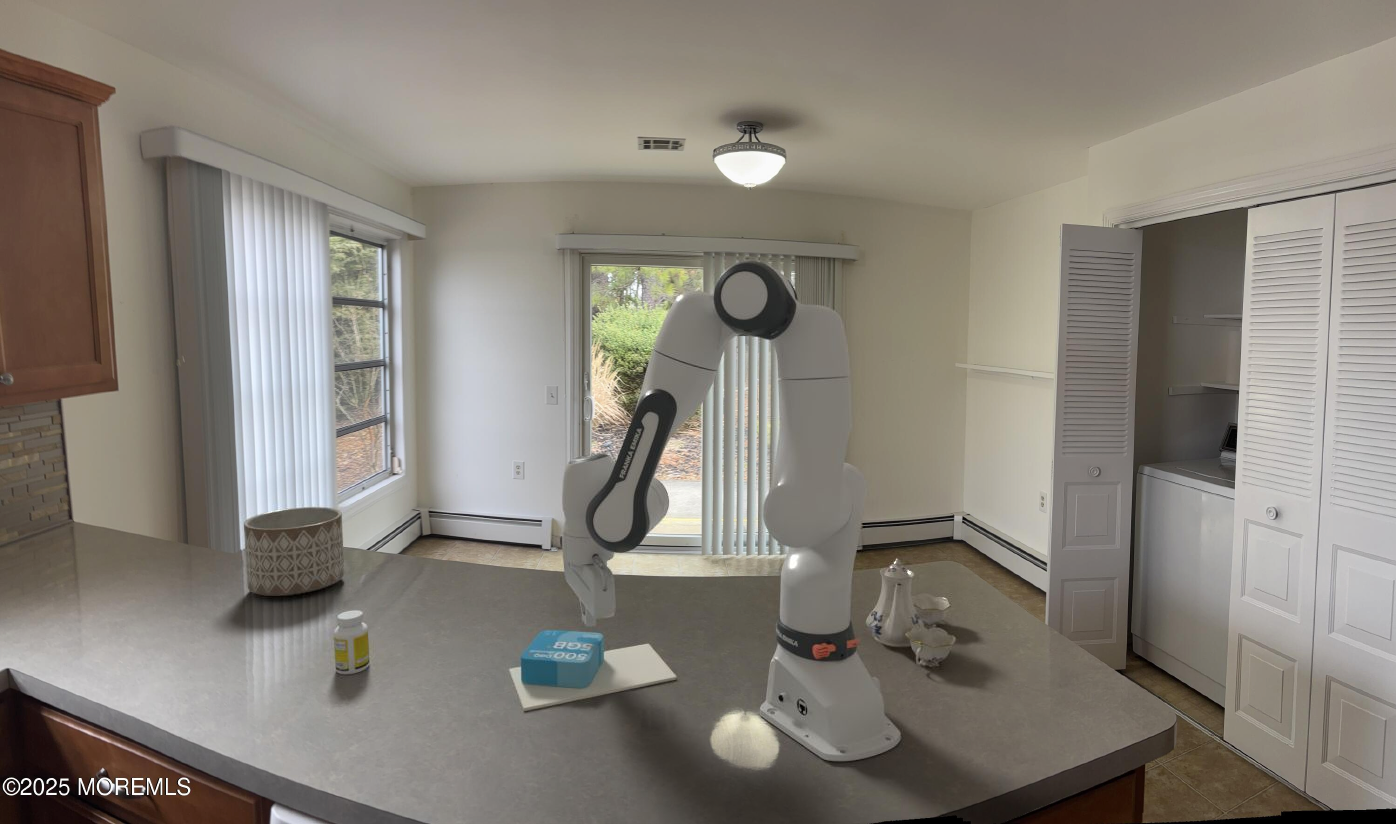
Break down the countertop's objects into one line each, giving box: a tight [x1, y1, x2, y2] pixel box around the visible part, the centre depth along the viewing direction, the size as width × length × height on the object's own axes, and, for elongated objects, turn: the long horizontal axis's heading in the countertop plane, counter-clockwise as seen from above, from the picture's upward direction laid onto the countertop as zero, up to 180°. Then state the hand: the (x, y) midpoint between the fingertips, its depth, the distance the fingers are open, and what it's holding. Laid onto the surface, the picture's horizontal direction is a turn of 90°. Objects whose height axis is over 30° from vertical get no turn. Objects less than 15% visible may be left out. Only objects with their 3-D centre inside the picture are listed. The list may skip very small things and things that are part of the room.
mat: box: [508, 643, 678, 712], centre depth 121 cm, size 14×26×1 cm, turn 114°
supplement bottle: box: [333, 609, 370, 675], centre depth 122 cm, size 5×5×10 cm
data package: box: [520, 629, 605, 688], centre depth 121 cm, size 12×4×12 cm
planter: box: [243, 506, 345, 597], centre depth 159 cm, size 19×19×16 cm
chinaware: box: [865, 558, 957, 668], centre depth 136 cm, size 28×17×17 cm, turn 168°
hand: (588, 623), depth 122 cm, fingers closed
